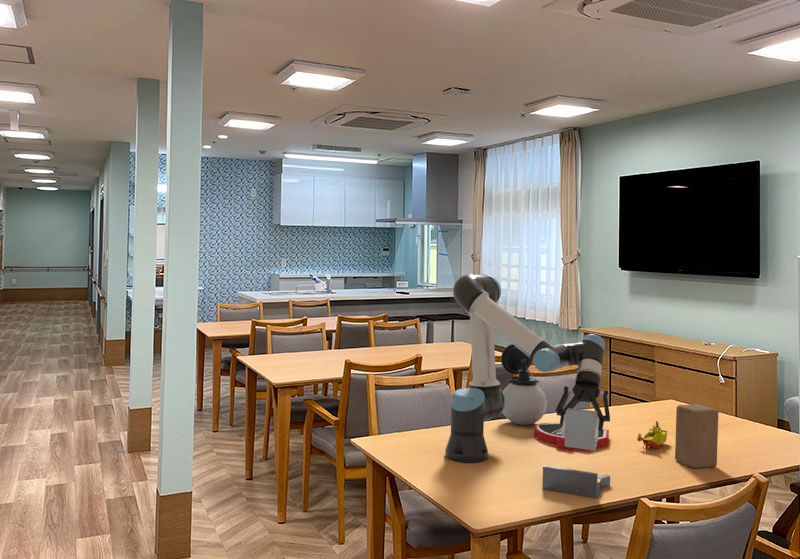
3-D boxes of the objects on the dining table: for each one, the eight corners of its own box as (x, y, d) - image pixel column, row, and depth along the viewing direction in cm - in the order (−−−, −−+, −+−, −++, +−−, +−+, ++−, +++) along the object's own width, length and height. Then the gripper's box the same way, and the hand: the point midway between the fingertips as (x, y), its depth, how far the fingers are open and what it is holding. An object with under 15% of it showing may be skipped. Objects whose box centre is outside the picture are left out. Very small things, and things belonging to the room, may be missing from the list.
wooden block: (693, 469, 218) (695, 411, 217) (673, 460, 227) (675, 404, 227) (718, 467, 220) (719, 409, 220) (697, 458, 230) (699, 403, 229)
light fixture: (505, 430, 264) (507, 350, 264) (493, 416, 287) (494, 343, 286) (552, 430, 266) (554, 350, 265) (536, 416, 289) (537, 343, 288)
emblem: (550, 417, 274) (621, 429, 256) (550, 426, 274) (620, 439, 256) (517, 431, 250) (593, 446, 231) (517, 441, 250) (592, 456, 231)
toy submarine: (636, 450, 240) (636, 423, 239) (656, 441, 252) (657, 416, 252) (653, 454, 235) (653, 427, 235) (673, 444, 248) (674, 419, 248)
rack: (546, 474, 210) (546, 453, 210) (610, 484, 201) (610, 462, 201) (535, 488, 197) (536, 465, 197) (603, 499, 188) (604, 476, 188)
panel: (567, 442, 202) (568, 408, 202) (596, 446, 199) (597, 411, 198) (564, 446, 198) (565, 411, 198) (594, 450, 194) (595, 414, 194)
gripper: (624, 386, 207) (617, 448, 193) (556, 379, 216) (545, 438, 202) (623, 372, 202) (616, 435, 188) (553, 366, 211) (542, 425, 197)
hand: (579, 436), depth 195 cm, fingers closed on panel, 9 cm apart
